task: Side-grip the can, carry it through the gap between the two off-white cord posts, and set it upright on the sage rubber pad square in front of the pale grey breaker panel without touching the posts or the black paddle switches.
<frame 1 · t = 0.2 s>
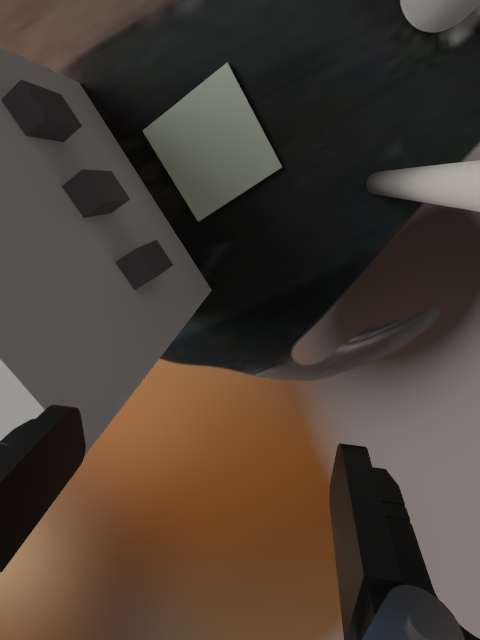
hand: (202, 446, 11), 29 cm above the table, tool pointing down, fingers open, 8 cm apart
pad: (212, 149, 34), on the table
cord posts: (324, 68, 30), on the table
breaker panel: (133, 207, 37), on the table
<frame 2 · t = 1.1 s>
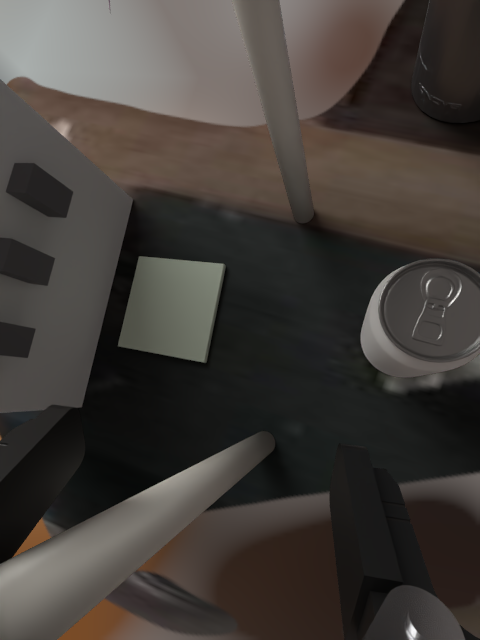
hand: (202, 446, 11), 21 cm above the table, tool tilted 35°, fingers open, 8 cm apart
pad: (172, 307, 36), on the table
cord posts: (284, 322, 33), on the table
can: (399, 339, 30), on the table
breaker panel: (90, 296, 39), on the table
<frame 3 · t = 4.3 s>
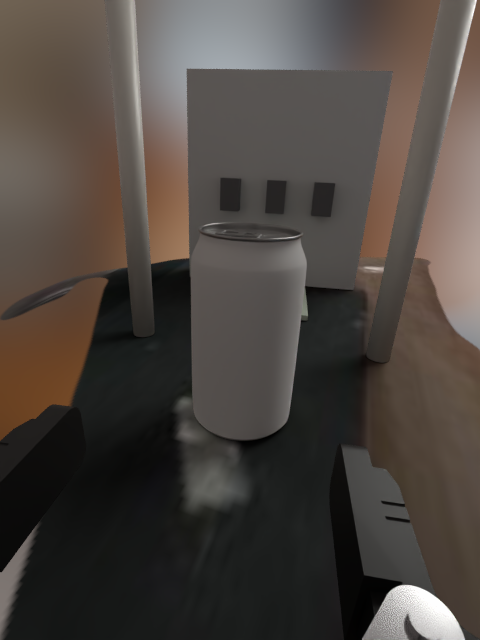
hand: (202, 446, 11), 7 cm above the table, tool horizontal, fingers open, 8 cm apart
cord posts: (256, 344, 32), on the table
can: (240, 413, 23), on the table
breaker panel: (270, 278, 53), on the table
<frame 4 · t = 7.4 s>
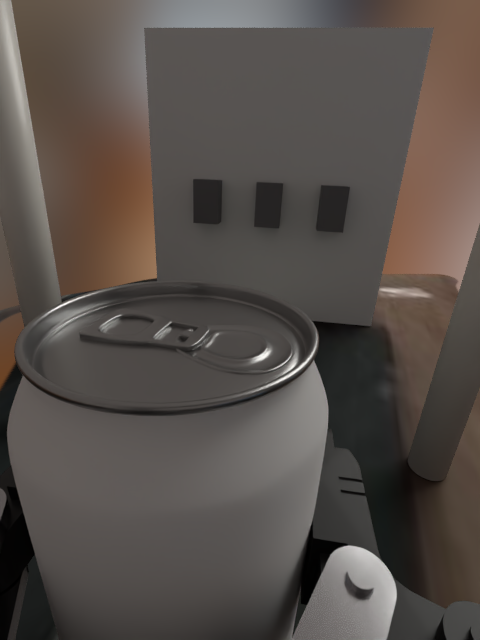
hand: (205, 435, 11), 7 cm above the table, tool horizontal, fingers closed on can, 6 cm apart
cord posts: (234, 440, 21), on the table
breaker panel: (262, 308, 41), on the table
when the fingers open (8 cm above the table, at t = 14.7 s): can stays where it is, resting on pad.
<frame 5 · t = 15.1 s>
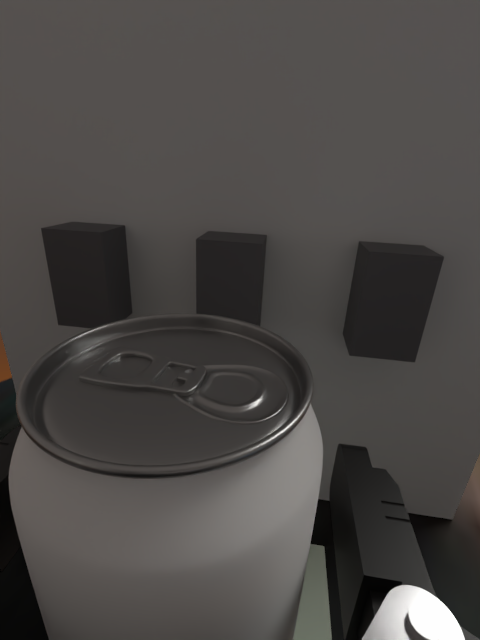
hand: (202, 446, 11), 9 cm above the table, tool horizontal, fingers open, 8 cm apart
breaker panel: (234, 452, 22), on the table
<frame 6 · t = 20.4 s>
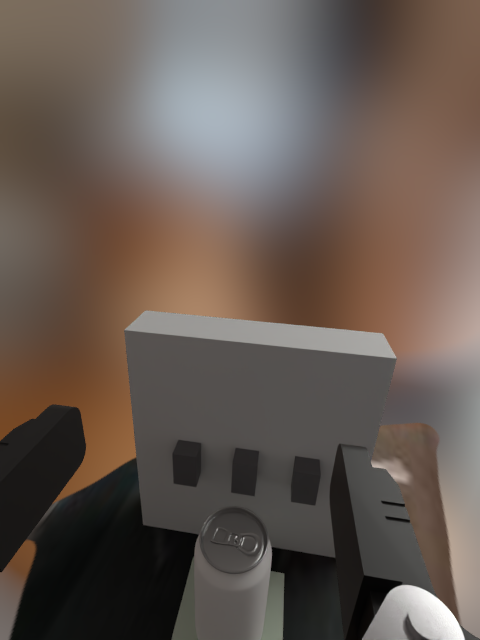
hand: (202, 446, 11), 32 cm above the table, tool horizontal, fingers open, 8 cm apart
pad: (230, 622, 33), on the table
can: (229, 622, 33), resting on pad
breaker panel: (243, 522, 43), on the table
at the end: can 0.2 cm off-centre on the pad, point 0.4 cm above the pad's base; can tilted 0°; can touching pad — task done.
